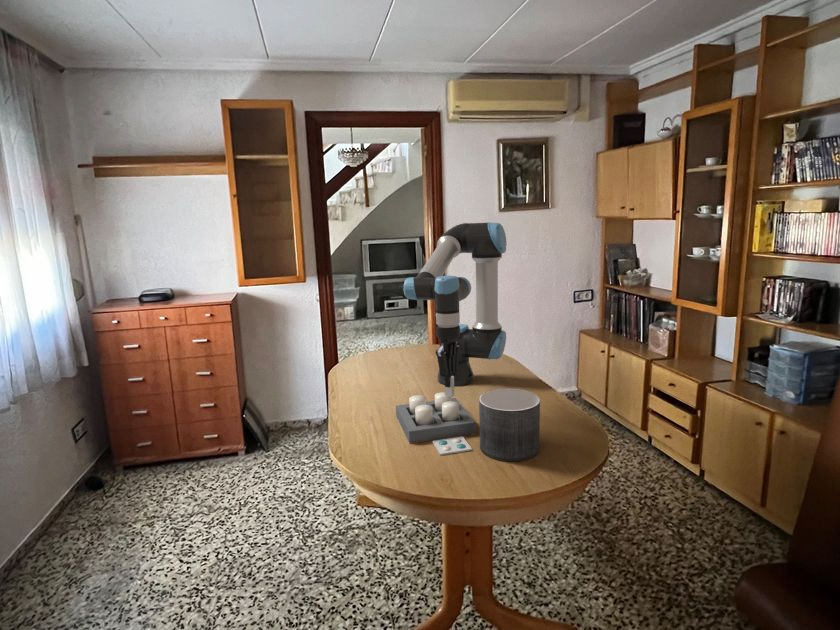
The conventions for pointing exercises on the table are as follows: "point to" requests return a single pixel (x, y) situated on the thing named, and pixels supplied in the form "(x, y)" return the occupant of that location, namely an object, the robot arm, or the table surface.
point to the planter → (509, 424)
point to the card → (451, 445)
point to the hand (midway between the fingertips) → (449, 395)
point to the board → (434, 424)
